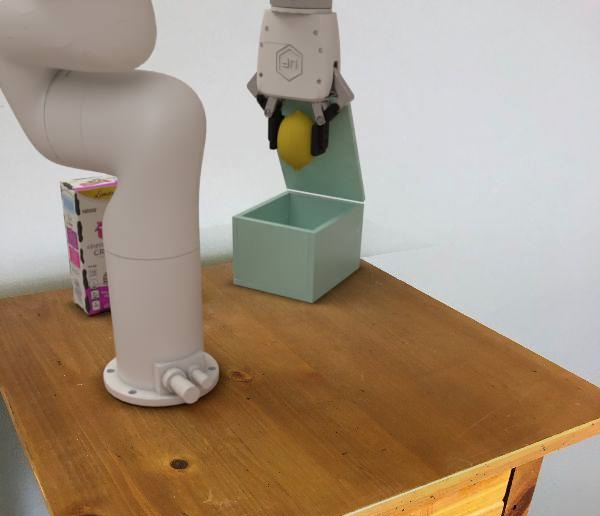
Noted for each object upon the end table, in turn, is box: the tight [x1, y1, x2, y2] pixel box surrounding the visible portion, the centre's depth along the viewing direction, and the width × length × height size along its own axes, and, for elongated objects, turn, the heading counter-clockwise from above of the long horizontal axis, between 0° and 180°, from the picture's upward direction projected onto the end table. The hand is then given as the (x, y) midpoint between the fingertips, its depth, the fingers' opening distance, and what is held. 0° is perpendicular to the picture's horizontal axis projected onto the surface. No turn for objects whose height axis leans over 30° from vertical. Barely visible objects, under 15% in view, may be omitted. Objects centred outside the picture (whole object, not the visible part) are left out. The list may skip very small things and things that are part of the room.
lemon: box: [277, 109, 315, 172], centre depth 100 cm, size 6×6×8 cm
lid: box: [275, 94, 366, 203], centre depth 106 cm, size 17×13×5 cm
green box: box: [231, 189, 365, 304], centre depth 108 cm, size 16×13×10 cm
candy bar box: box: [59, 174, 118, 316], centre depth 97 cm, size 11×5×16 cm, turn 128°
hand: (297, 149), depth 100 cm, fingers closed on lemon, 5 cm apart
